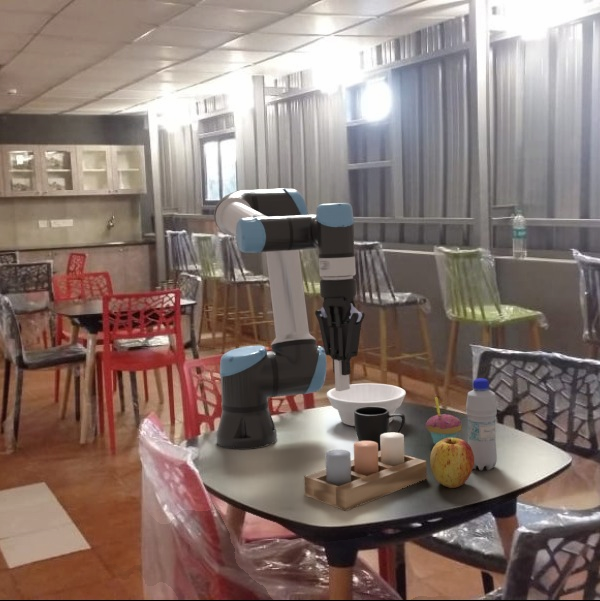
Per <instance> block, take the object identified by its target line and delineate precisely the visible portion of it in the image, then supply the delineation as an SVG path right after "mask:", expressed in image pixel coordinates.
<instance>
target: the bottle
mask: <svg viewBox="0 0 600 601" xmlns="http://www.w3.org/2000/svg"><path fill="white" fill-rule="evenodd" d="M472 389H473V390H470V391H468V392H467V398H466V404H465V409H466V412H465V414H466V416H467V443H468V444H469V445H470V447H471V449H472V451H473V455H474V466H473V470H476V469H477V468H478V469H479V471H484V467H486V470H487V471H490V470H492V469H493V468H495V467H496V465H497V460H498V456H497V455H498V454H497V444H496V427H497V426H496V417H497V413H498V412H497V410H498V404H497V398H496V392H494V391H492V390H491V389H490V382H489V380H488V379H487V378H483V377H481V378H480V377H479V378H475V379H474V380H473V383H472Z"/></svg>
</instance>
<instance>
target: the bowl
mask: <svg viewBox="0 0 600 601" xmlns="http://www.w3.org/2000/svg"><path fill="white" fill-rule="evenodd" d="M406 394H407V393H406V390H405V389H403V388H401V387H400V386H397V385H392V384H385V383H367V382H366V383H354V384H353V383H352V384H351V383H350V389H348V390H344V391H336V389H335V387H334V388H331V389H330V390H328V391H327V392H326V396H327V398H328V401H329V404H330V405H331V407H333V408H334V410H337V412H338V414H339V417H340V421H341V423H343V424H345V425H347V426H352V427H355V422H354V411H355V410H356V409H358V408H361V407H369V406H375V407H383V408H386V409H388V410H389V414H396V410H397V409H398V408H400V407H401V406H402V403H403V401H404V398H405V396H406ZM393 420H394V417H391V418H389V424H390V423H391V422H392V421H393Z"/></svg>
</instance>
